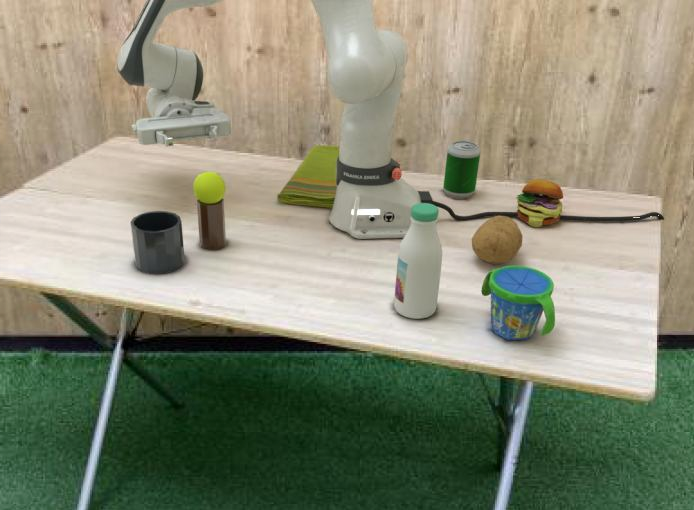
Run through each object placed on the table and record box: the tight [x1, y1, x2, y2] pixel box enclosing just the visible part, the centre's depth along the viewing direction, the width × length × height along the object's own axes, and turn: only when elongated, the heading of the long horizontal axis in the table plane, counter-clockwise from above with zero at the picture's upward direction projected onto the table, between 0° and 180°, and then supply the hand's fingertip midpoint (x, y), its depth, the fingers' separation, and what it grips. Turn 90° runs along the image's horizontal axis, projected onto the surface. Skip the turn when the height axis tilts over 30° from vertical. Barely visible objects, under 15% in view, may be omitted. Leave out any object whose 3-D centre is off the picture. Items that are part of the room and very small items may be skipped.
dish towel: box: [276, 144, 339, 209], centre depth 193 cm, size 15×36×3 cm, turn 166°
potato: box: [471, 215, 523, 265], centre depth 158 cm, size 10×14×8 cm
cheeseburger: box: [515, 178, 564, 228], centre depth 175 cm, size 10×11×10 cm
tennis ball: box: [192, 171, 227, 204], centre depth 157 cm, size 6×6×6 cm
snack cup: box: [480, 265, 556, 341], centre depth 135 cm, size 16×10×10 cm
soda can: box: [442, 140, 481, 200], centre depth 184 cm, size 8×8×12 cm
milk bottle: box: [393, 203, 443, 320], centre depth 138 cm, size 8×8×20 cm
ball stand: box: [196, 197, 227, 251], centre depth 161 cm, size 5×5×10 cm
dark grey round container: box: [130, 210, 186, 275], centre depth 155 cm, size 10×10×9 cm
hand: (192, 140), depth 163 cm, fingers open, 8 cm apart
